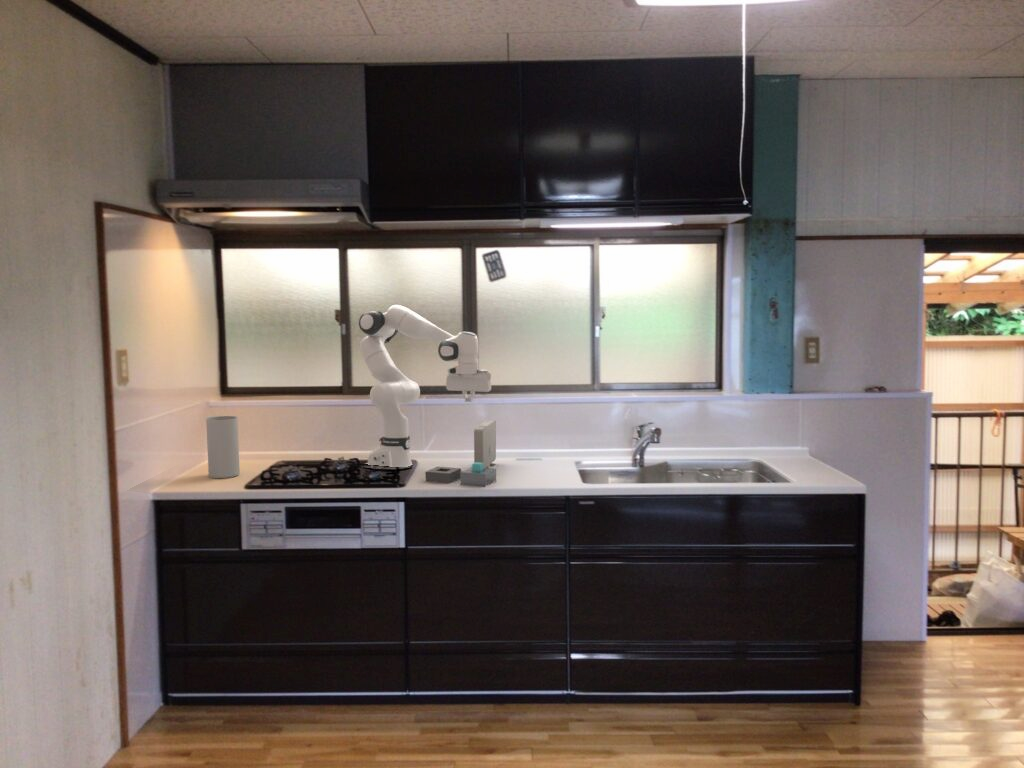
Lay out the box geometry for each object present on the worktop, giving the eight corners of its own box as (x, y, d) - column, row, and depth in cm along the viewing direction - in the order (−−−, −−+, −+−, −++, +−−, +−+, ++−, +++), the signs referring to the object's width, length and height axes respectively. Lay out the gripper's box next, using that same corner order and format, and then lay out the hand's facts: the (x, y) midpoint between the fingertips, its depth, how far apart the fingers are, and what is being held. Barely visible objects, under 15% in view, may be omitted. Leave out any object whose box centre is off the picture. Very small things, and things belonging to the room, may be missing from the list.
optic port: (460, 484, 312) (460, 472, 311) (471, 478, 322) (471, 466, 321) (485, 486, 308) (485, 474, 307) (495, 480, 318) (495, 468, 317)
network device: (488, 475, 329) (487, 429, 327) (468, 474, 330) (467, 428, 328) (500, 463, 354) (500, 420, 352) (482, 462, 355) (482, 419, 353)
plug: (472, 483, 314) (472, 463, 313) (475, 481, 317) (475, 462, 316) (480, 483, 313) (480, 464, 312) (483, 481, 316) (483, 462, 315)
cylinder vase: (216, 480, 321) (214, 421, 318) (203, 475, 330) (201, 418, 327) (245, 475, 330) (242, 417, 327) (231, 471, 338) (229, 415, 336)
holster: (425, 481, 318) (425, 471, 317) (437, 475, 328) (437, 466, 327) (449, 483, 314) (449, 473, 313) (461, 477, 324) (460, 468, 323)
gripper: (493, 369, 328) (493, 401, 330) (450, 368, 336) (451, 399, 337) (487, 370, 323) (487, 403, 324) (444, 369, 330) (444, 401, 332)
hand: (468, 401), depth 331 cm, fingers closed
